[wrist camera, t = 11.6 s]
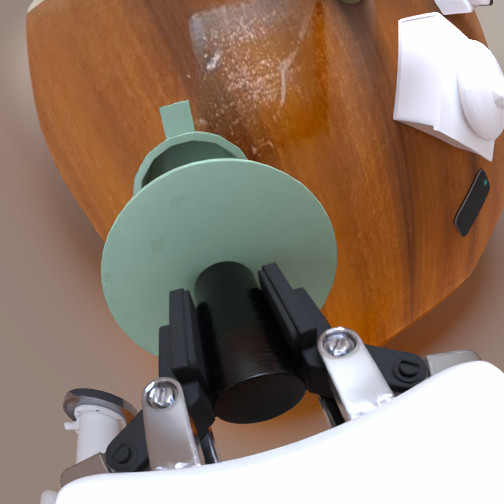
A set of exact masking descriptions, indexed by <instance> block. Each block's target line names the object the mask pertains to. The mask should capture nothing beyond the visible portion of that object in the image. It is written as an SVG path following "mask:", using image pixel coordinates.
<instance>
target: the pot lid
mask: <svg viewBox="0 0 504 504" xmlns="http://www.w3.org/2000/svg"><path fill="white" fill-rule="evenodd" d="M274 262H275V263H276V264H277V265H278V267H279V269H280V270H281V272H282V273H283V275H284V276H285V278H286V279H287V281H288V282H289V284H290V286H291V287H292V289H293V290H294V289H297V288H300V287H303V288H304V289H305V290H306V291H307V293H308V294H309V296H310V297H311V299H312V300H313V301H314V303H315V304H316V306H317V307H318V309H319V310H321V308H322V307H323V305H324V303H325V301H326V299H327V297H328V295H329V293H330V291H331V288H332V285H333V282H334V278H335V273H336V268H337V243H336V238H335V234H334V229H333V227H332V224H331V222H330V219H329V217H328V215H327V213H326V211H325V210H324V208H323V206H322V205H321V203H320V202H319V201H318V200H317V198H316V197H315V196H314V195H313V194H312V192H311V191H309V190H308V189H307V188H306V187H305V186H304V185H303V184H301V183H300V182H299V181H297V180H296V179H294V178H293V177H291V176H289V175H288V174H286V173H284V172H283V171H280V170H278V169H276V168H273V167H271V166H269V165H266V164H262V163H259V162H255V161H251V160H244V159H234V158H220V159H208V160H203V161H197V162H192V163H189V164H186V165H183V166H181V167H178V168H175V169H173V170H171V171H169V172H167V173H165V174H163V175H161V176H159V177H157V178H156V179H154V180H153V181H151V182H150V183H149V184H147V185H146V186H145V187H143V188H142V189H141V190H140V191H139V192H138V193H137V194H136V195H135V196H134V197H133V198H132V199H131V200H130V201H129V202H128V203H127V204H126V206H125V207H124V208H123V210H122V211H121V212H120V214H119V215H118V217H117V218H116V220H115V222H114V224H113V226H112V228H111V230H110V232H109V234H108V237H107V240H106V243H105V246H104V250H103V255H102V262H101V280H102V287H103V292H104V296H105V299H106V302H107V305H108V307H109V309H110V311H111V313H112V315H113V317H114V319H115V320H116V322H117V323H118V324H119V326H120V327H121V329H123V331H124V332H125V333H126V334H127V335H128V336H129V337H130V338H131V339H132V340H133V341H134V342H135V343H137V344H138V345H139V346H140V347H142V348H143V349H145V350H147V351H148V352H150V353H152V354H154V355H156V356H158V357H159V328H160V327H161V326H165V325H169V292H170V291H173V290H176V289H180V288H183V289H184V291H186V290H189V292H190V294H191V297H192V300H193V302H194V305H195V307H196V310H197V317H198V324H199V331H200V338H201V345H202V351H203V357H204V364H205V369H206V375H207V381H208V387H209V392H210V397H211V403H212V408H213V411H214V413H215V414H216V416H217V417H219V418H220V419H222V420H224V421H227V422H230V423H236V424H250V423H257V422H262V421H266V420H269V419H272V418H274V417H277V416H279V415H281V414H283V413H285V412H287V411H288V410H290V409H291V408H293V407H294V406H295V405H296V404H297V403H299V402H300V400H301V399H302V398H303V396H304V395H305V392H306V382H305V380H304V378H303V376H302V374H301V372H300V370H299V368H298V365H297V363H296V361H295V359H294V357H293V355H292V353H291V351H290V349H289V347H288V345H287V343H286V341H285V339H284V337H283V335H282V333H281V330H280V328H279V326H278V324H277V322H276V320H275V318H274V316H273V314H272V312H271V310H270V308H269V306H268V304H267V301H266V299H265V297H264V295H263V293H262V291H261V286H260V281H259V275H258V271H259V270H262V266H263V265H267V264H270V263H274Z"/></svg>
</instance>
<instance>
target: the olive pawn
mask: <svg viewBox="0 0 504 504" xmlns="http://www.w3.org/2000/svg"><path fill="white" fill-rule="evenodd" d="M340 1H343V2H345V3H350V4H353V3H357V2H359V1H360V0H340Z"/></svg>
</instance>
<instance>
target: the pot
mask: <svg viewBox="0 0 504 504" xmlns="http://www.w3.org/2000/svg"><path fill="white" fill-rule="evenodd" d="M159 109H160V114H161V118H162V123H163V127H164V131H165V136H166V139H165V140H164V141H163V142H162V143H160V144H159V145H158V146H156V147H155V148H154V149H153V150H152V151H151V152H150V153H148V155H147V156H146V157H145V159H144V161H143V163H142V164H141V166H140V168H139V170H138V172H137V174H136V176H135V178H134V189H133V197H134V196H135V195H136V194H137V193H138V192H139V191H140V190H141V189H142V188H143V187H145V186H146V185H147V184H149V183H150V182H151V181H153V180H154V179H156V178H157V177H159V176H161V175H163V174H165V173H167V172H169V171H171V170H173V169H175V168H178V167H181V166H183V165H186V164H189V163H192V162H197V161H203V160H208V159H220V158H234V159H244V160H248V159H247V158H246V156H245V155H244V153H243V152H242V150H241V149H240V148H238V147H237V146H235V145H234V144H232V143H230V142H229V141H227V140H226V139H224V138H222V137H221V136H219V135H216V134H213V133H209V132H203V131H196V130H195V128H194V124H193V119H192V114H191V109H190V105H189V100H186V101H182V102H178V103H175V104H171V105H167V106H163V107H160V108H159Z"/></svg>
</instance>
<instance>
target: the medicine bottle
mask: <svg viewBox="0 0 504 504" xmlns="http://www.w3.org/2000/svg"><path fill="white" fill-rule="evenodd" d="M434 2H435V3H436V5H437V6H438V8H439V9H440V11H441V12H442V14H443V15H449V14H459V13H471V12H472V11H473V10H474V9H475V8H476V7H477V6H484V5H485V6H486V5H492V4H493V0H434Z"/></svg>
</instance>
